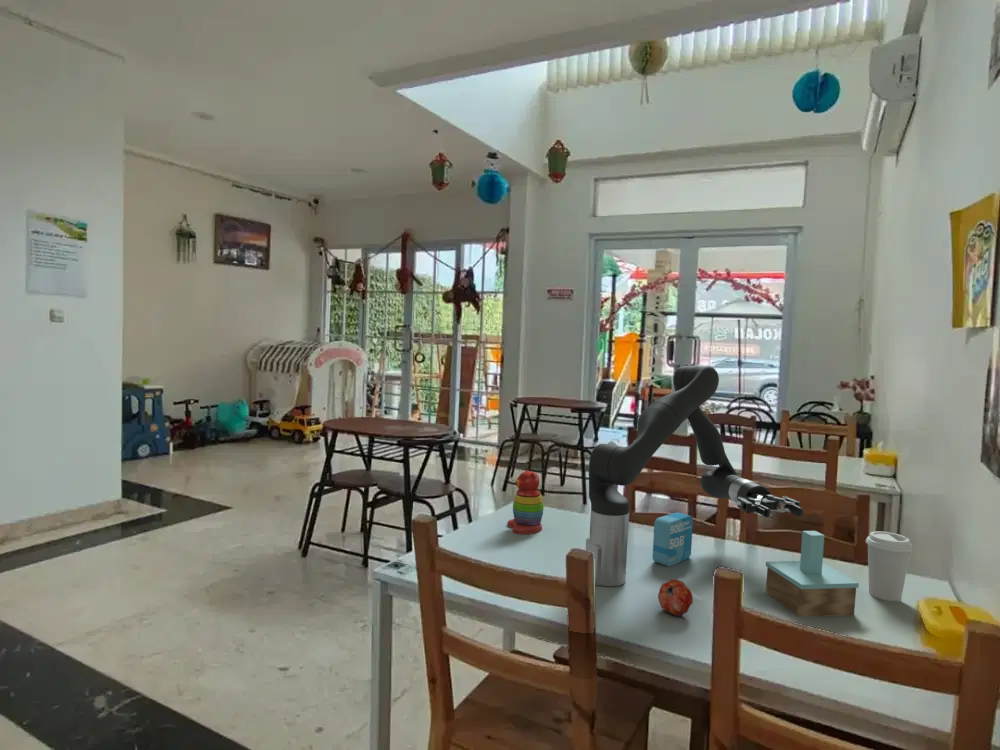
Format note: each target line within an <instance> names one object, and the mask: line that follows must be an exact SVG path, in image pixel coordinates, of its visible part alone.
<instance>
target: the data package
mask: <svg viewBox="0 0 1000 750" xmlns="http://www.w3.org/2000/svg"><path fill="white" fill-rule="evenodd" d="M653 524H654V525H653V541H652V561H653V562H654V563H657V564H660V565H663V566H665V567H671V566H674V565H676V564H678V563H679V564H680V563H681V562H684V561H686V560H689V559H690V557H691V554H692V545H693V541H692V540H693V524H694V519H693V516H691V515H689V514H685V513H681V512H672V513H670V514H666V515H662V516H660V517H657V518H656V519H655V521H654V523H653Z"/></svg>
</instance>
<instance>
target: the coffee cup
mask: <svg viewBox="0 0 1000 750" xmlns="http://www.w3.org/2000/svg"><path fill="white" fill-rule="evenodd" d="M865 543H866V544H867V557H868V558H867V559H868V560H867V562H868V563H867V565H868V567H867V568H868V594H869V595H871V596H872V597H874V598H876V599H880V600H883V601H888V602H899V603H900V602H902V598H903V592H904V586H905V580H906V576H907V570H908V565H909V560H910V556H911V552H913V551H914V548H913V544H912V543H911V540H910V538H908V537H907V536H904V535H902V534H898V533H894V532H889V531H881V530H880V531H879V530H877V531H871V532H870V533H869V535H868V536H867V537H866V539H865Z"/></svg>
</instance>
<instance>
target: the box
mask: <svg viewBox="0 0 1000 750" xmlns="http://www.w3.org/2000/svg"><path fill="white" fill-rule="evenodd" d="M766 567H767V566H766ZM766 569H767V570H766V585H765V593H766V594H768V595H769V596H770V597H771V598H774V599H775V600H776V601H777V602H779V603H780V604H781V605H782V606H785V607H786V608H787V609H788V610H790V611H791V612H792V613H794V614H795V615H796V616H798V617H800V618H805V617H809V618H810V617H831V616H832V617H833V616H855V607H856V597H857V596H856V595H857V588H828V589H800V588H799V587H797V586H796V585H794V584H793V583H791V582H790V581H788V580H787V579H785V578H783V577H782V576H780V575H779V574H777V573H776V572H774V571H773V570H771V569H770V568H768V567H767V568H766Z"/></svg>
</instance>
